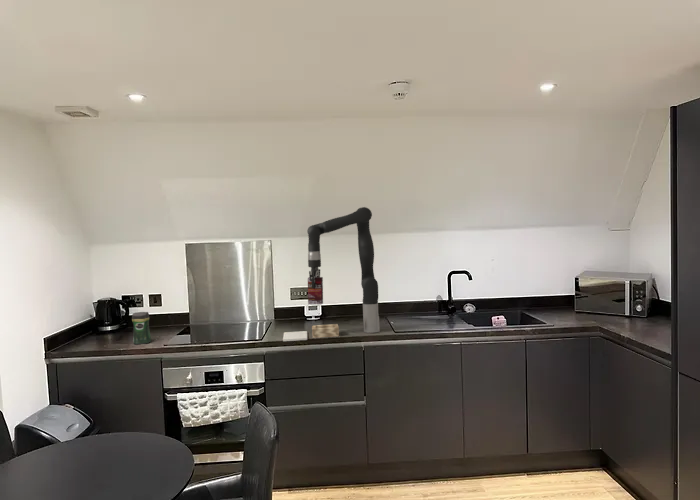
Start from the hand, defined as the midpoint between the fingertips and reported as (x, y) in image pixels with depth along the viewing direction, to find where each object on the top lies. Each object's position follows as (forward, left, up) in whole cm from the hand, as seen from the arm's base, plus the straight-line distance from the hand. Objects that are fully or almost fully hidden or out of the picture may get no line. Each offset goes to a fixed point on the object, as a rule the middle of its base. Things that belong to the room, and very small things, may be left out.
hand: (315, 287), depth 314 cm
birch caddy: (-5, 0, -29) cm, 29 cm away
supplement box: (0, 0, -10) cm, 10 cm away
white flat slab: (+13, 0, -29) cm, 32 cm away
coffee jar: (+104, -9, -29) cm, 109 cm away
